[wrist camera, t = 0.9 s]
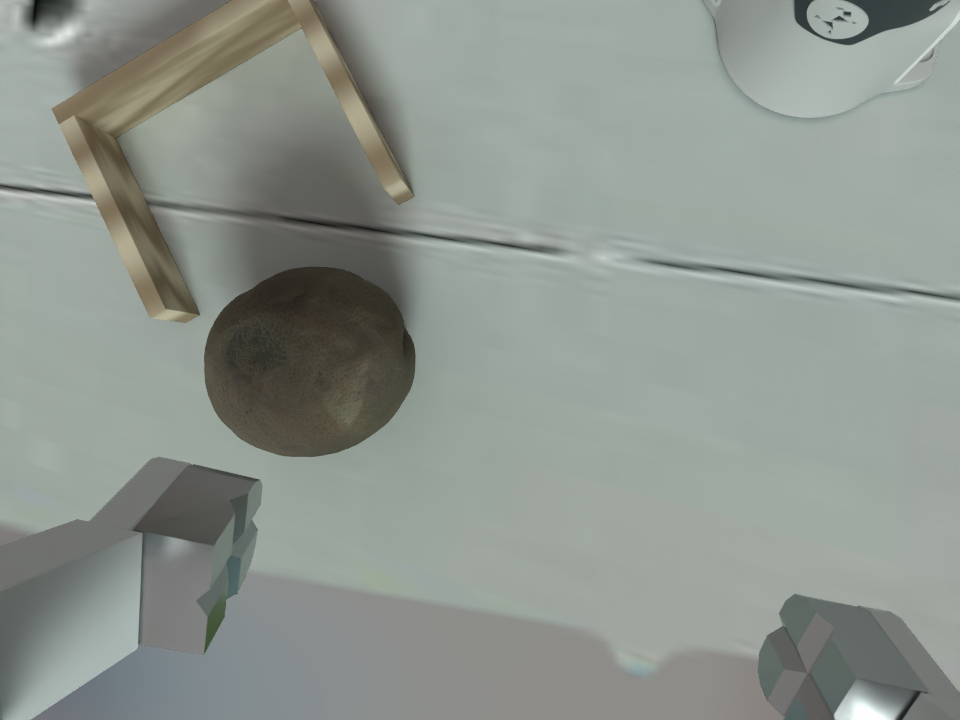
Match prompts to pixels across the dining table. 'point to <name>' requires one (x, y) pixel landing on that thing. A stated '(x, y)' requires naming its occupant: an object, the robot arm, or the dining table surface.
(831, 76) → the robot arm
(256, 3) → the box
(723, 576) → the dining table surface
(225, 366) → the cantaloupe
